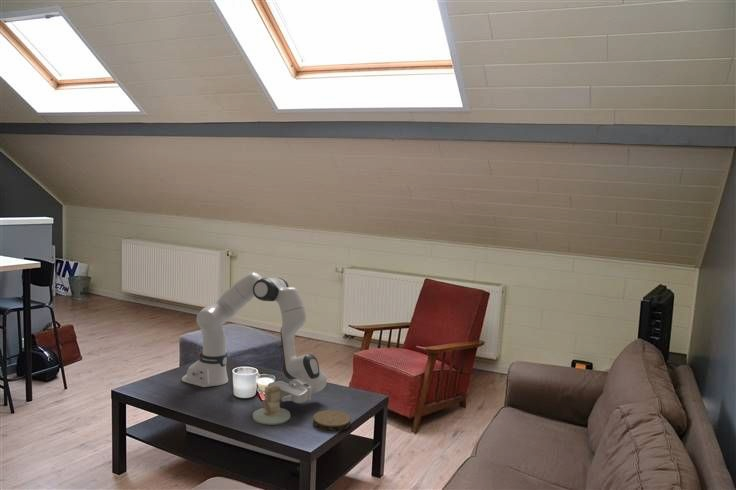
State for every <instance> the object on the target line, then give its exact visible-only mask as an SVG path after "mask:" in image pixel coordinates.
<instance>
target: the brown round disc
mask: <svg viewBox="0 0 736 490" xmlns="http://www.w3.org/2000/svg"><path fill="white" fill-rule="evenodd" d="M351 420H352V419H351V416H350V414H349V413H346V412H345V411H341V410H334V409H333V410H332V409H327V410H320V411H318V412H315V414H314V415H313V419H312V424H313V427H315V428H316V429H318V430H321V431H323V432H329V433H330V432H333V433H334V432H343V431H345V430H347V429H349V428H350V426H351Z"/></svg>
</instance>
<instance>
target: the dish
mask: <svg viewBox="0 0 736 490" xmlns="http://www.w3.org/2000/svg"><path fill="white" fill-rule="evenodd" d="M252 419H253V421H254V422H255V423H258V424H260V425H264V426H266V425H267V426H277V425H281V424H284V423H287V422H289V420H290V419H291V413H290V411H289V410H287V409H286V408H282V407H279V415H276V416H274V417H269V416H267V415H265V414H264V407H261V408H258V409H256V410H254V412H253V413H252Z"/></svg>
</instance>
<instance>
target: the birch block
mask: <svg viewBox="0 0 736 490" xmlns="http://www.w3.org/2000/svg"><path fill="white" fill-rule="evenodd" d="M280 399H281V396H280V387H278V386H275V385H271V386H268V385H267V386H264V402H263V406H264V407H263V408H264V414H265V415H267V416H269V417H274V416H276V415H279V408H281V406H280V405H281V400H280Z"/></svg>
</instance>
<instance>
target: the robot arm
mask: <svg viewBox="0 0 736 490" xmlns="http://www.w3.org/2000/svg"><path fill="white" fill-rule="evenodd" d="M254 298H256V299H257V300H259V301H262V302H275V303H277V304H278V307H279V310H280V314H281V327H280V340H281V341H280V342H281V352H282V359H283V360H282V371H283V374H284V376H285V377H286V378H287V379H289V382H285V381H283V380H277V381H272V382H269V383H268V385H267V387H268V386H271V385H275V386H278V387H280V402H290V401H291V402H293V403H295V404H302V403H306V402H310V401H311V400H312V395H313V394H317V393H319V392H321V391H322V390H323V389H324V388H325V387H326V385H327V381H328V380H327V379H328V378H327V376H326V374H325V373H324V372H323V371H322V370H321V368H320V365H319V361H318V359H317V357H316V356H315V355H313V354H311V353H307V354H306V353H305V354H302V355H300V356H297V355H296V348H295V347H296V346H295V337H296V335H297V333H298V332H299V331H300V330H301V328H303V326H304V325H305V323H306V322H307V313H306V309H305V305H304V303H303V299H302V297H301V294H300V292H299V290H298V288H297V287H294V286H289V283H288V282H287V281H286V280H285V279H284V278H281V277H272V276H271V277H262V276H261V274H259V273H258V272H253V271H252V272H249V273H248V274H246V275H244V276H242V277H241V278H239V279H238V280H237V281H236V282H234V284H233V285H231V286H230V287H229V288H228V289H226V290H225V291H224V293H223V294H222V295H221V296H220V297H219V299H217V300H215V302H213V303H211V304H209V305H207V306H205V307H204V308H201V310H199V312H198V313H197V315H196V320H195V321H196V325H197V326H198V327H199V328H200V331H201V335H202V352H201V353H199V354H198V355H197V358H199V359H198V360H196V361H195V362H194V363H192V364H191V365H190V366H189V367H188V369H187V371H186V374H185V375H184V376H182V377H181V382H183V383H187V384H190V385H194V386H199V387H202V388H206V387H207V388H208V387H215V386H222V385H225V384H226V383H228V382H229V378H228V377H229V376H228V373H227V360H228V358H227V357H228V356H227V355H228V354H227V337H226V335H225V334H224V329H223V326H224V324H226V323H227V322H228V321H229V320H231V319H232V317H234V316H235V315H236V314H237V313H238V311H240V310H241V309H242V308H243V307H244V306H246V305H247V304H248V303H249V302H250V301H252V300H253V299H254Z"/></svg>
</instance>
